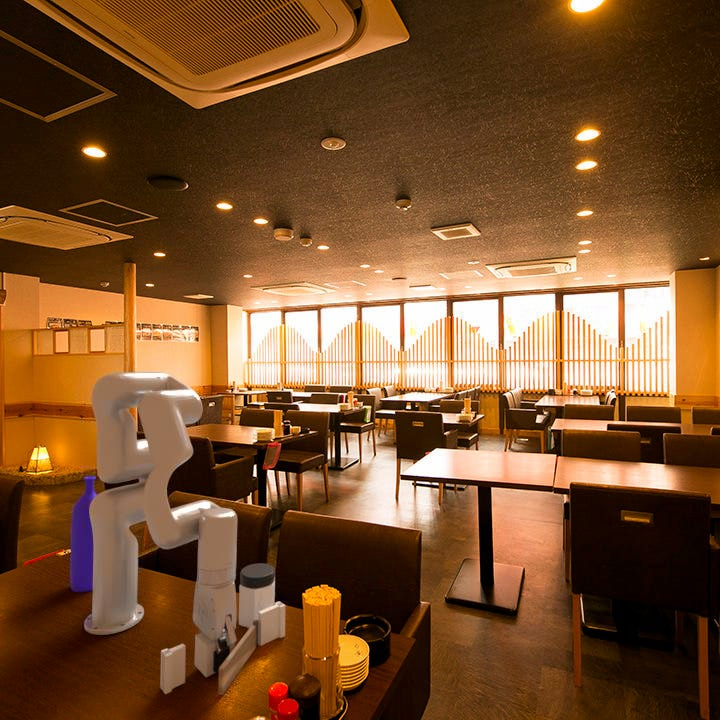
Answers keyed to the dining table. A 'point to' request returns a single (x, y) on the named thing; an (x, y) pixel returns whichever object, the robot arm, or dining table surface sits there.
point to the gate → (238, 658)
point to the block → (206, 653)
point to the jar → (255, 592)
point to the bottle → (82, 541)
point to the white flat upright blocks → (174, 658)
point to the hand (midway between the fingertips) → (214, 660)
